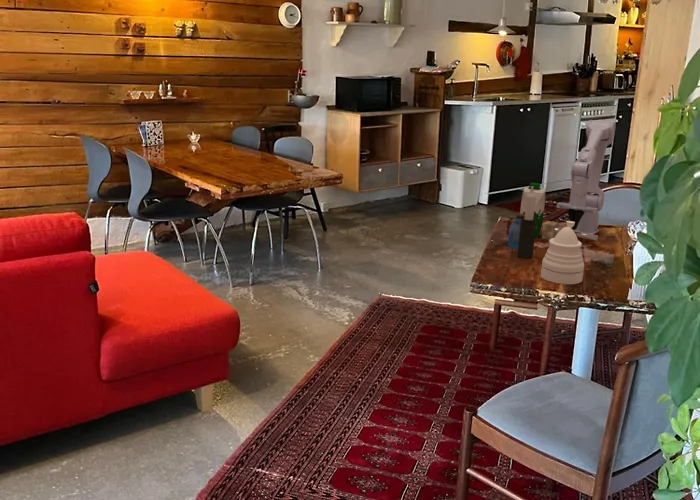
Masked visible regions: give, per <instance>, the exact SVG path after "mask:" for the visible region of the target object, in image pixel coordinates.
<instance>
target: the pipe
mask: <svg viewBox="0 0 700 500" xmlns="http://www.w3.org/2000/svg"><path fill="white" fill-rule="evenodd" d="M561 229H562V228H559V227H558V228H555V230H554V233H557V234H558V232H559V231H560V230H561ZM574 232H575V234H576V236H577V238H580V239H585V240H592V241H597V242H598V239H599V234H594V235H593V234H587V233H582V232H576V231H574Z"/></svg>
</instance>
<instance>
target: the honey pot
mask: <svg viewBox="0 0 700 500" xmlns="http://www.w3.org/2000/svg"><path fill="white" fill-rule="evenodd" d="M565 224H566V225H567V227H565V226H564V227H563V228H560V229H561V230H560V231H559V232H558V233H557V235H556V236H555V238H552V239H550V240H548V243H549V247H548V248H547V249H546V253H545V254H544V257H542V264H541V271H540V277H541V278H542V280H545V281H547V282H550V281H551V283H554V282H555V283H554V284H559V283H562V284H561V285H576V284H580V283H582V282H583V278H584V269H585V262H584V257H583V252H582V251H581V248H582V246H583V243H582V242H581V241H580V240H579V239H578V237H577V236H576V234H575V232H574V231H573V230H572V229H571V228H572V227H573V226H574V224H575V222H573V221H570V220H567V221H566V223H565Z"/></svg>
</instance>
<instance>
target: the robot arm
mask: <svg viewBox="0 0 700 500" xmlns="http://www.w3.org/2000/svg"><path fill="white" fill-rule="evenodd" d="M615 132H616V123H615V121H606V120H595V119H594V120H593V119H589V120H588V122H587V123H586V128H585V134H586V137H587V142H586V145H585V146H583V148H581V150H580V153H579V155H578V156H577V159H576V161H575V162H573V163H572V165H571V169H570V170H571V172H570V175H571V176H570V178H571V179H570V181H571V187H570V195H569V201H568V202H560V201H559V202H557V203H556V209H563V210H568V211H567V215H568V218H569V221H573V222H575V224H574V226H573V227H572V228H571V229H572V230H574V231H576V232H582V233H587V234H593V235H596V234H597V233H599V232H600V229H598V226H599V219H600V214H599V212H601V210H603V206H604V202H605V192H604V190H603V189H602V188H600V187H599V185H600V180H601V175H602V169H603V166H604V159H605V155H606V151H607V147H608V146H609V145H611V144H613V141H614V138H615Z"/></svg>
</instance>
